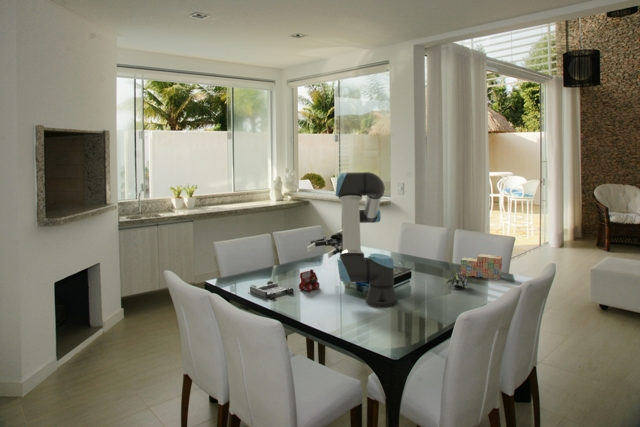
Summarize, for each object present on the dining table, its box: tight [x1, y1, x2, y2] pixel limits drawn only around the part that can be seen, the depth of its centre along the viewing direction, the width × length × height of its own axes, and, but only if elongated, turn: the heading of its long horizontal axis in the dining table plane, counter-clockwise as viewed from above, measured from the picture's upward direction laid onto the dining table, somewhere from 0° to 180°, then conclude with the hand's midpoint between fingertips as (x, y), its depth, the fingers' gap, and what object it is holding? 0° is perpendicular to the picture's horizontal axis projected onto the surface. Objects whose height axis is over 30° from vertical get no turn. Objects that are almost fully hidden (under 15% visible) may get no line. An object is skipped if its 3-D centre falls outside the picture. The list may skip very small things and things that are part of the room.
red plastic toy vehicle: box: [298, 269, 320, 293], centre depth 248 cm, size 7×12×10 cm, turn 138°
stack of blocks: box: [460, 253, 503, 280], centre depth 266 cm, size 21×6×12 cm, turn 58°
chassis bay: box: [248, 280, 294, 300], centre depth 244 cm, size 20×18×4 cm
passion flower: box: [445, 269, 470, 289], centre depth 245 cm, size 11×11×12 cm
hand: (318, 252), depth 248 cm, fingers open, 13 cm apart
